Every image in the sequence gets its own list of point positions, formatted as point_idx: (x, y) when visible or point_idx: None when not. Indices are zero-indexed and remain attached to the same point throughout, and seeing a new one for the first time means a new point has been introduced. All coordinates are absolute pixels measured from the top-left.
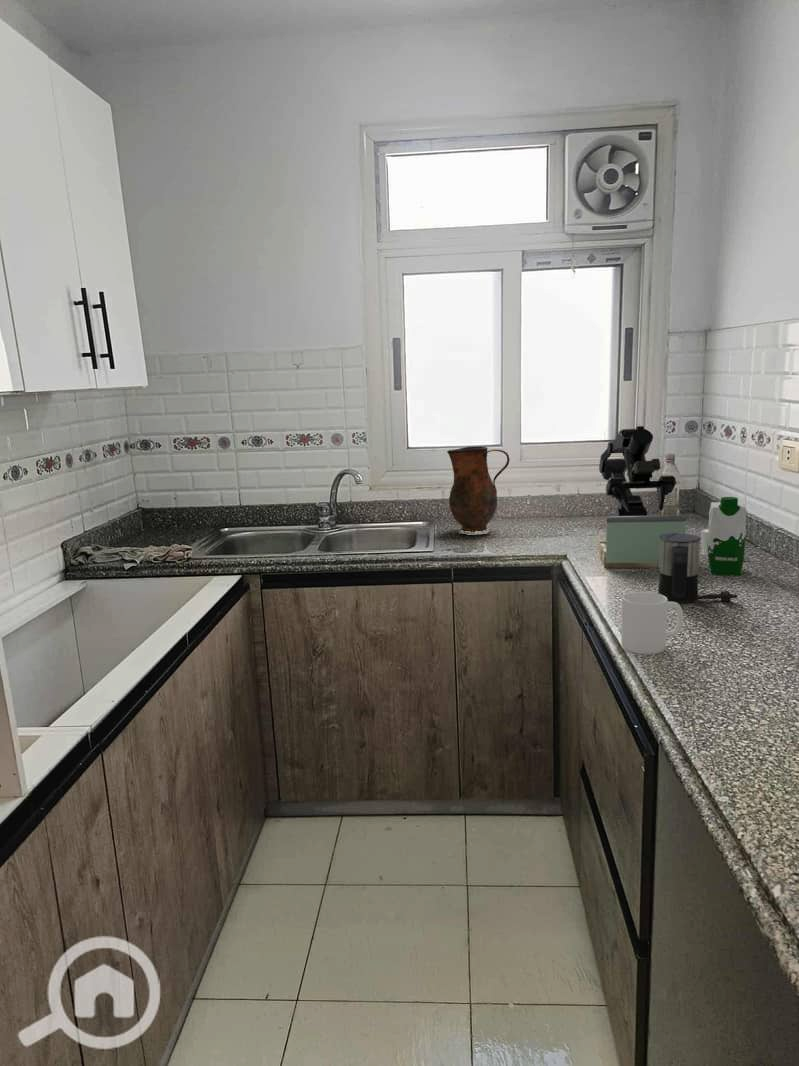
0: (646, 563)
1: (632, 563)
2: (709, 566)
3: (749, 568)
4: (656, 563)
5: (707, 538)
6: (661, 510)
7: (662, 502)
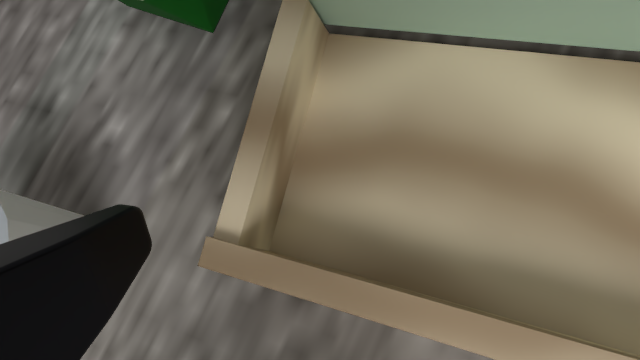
0: (517, 53)
1: (615, 62)
2: (214, 22)
3: (92, 5)
4: (455, 48)
5: (35, 220)
6: (144, 236)
7: (31, 243)
